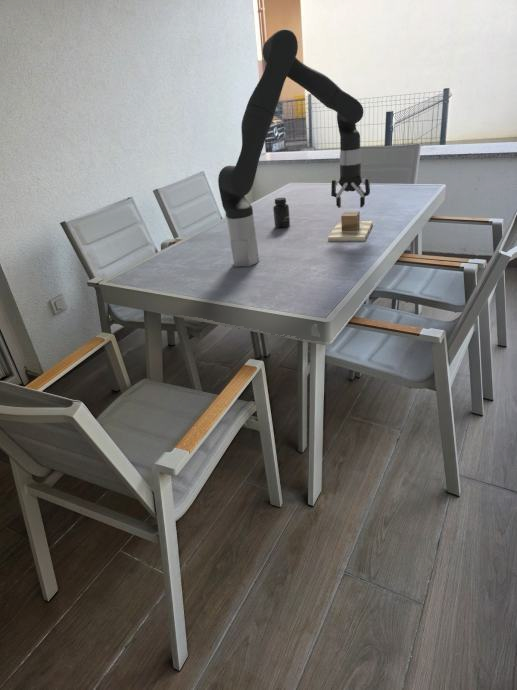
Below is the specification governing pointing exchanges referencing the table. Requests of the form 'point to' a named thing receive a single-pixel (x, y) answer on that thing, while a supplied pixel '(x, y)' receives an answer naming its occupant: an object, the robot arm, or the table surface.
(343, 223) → the walnut block
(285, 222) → the supplement bottle
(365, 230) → the birch board
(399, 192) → the table surface
